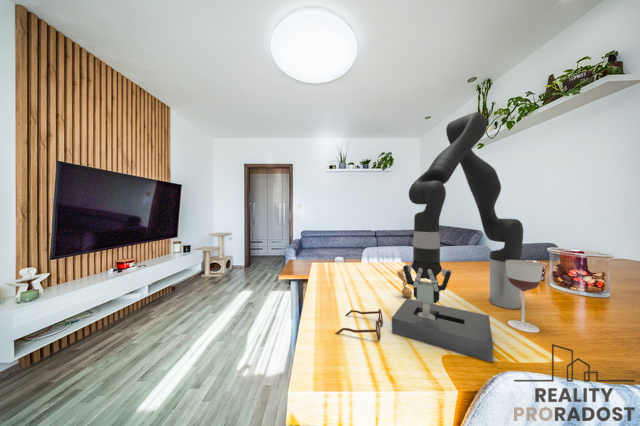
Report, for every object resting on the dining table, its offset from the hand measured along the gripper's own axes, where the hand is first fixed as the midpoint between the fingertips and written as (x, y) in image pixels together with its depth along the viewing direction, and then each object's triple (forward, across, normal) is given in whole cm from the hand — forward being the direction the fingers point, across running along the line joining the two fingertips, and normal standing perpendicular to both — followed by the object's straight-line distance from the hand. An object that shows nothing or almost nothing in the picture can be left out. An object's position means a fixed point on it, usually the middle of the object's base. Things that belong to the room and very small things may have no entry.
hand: (426, 300), depth 70 cm
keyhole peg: (+6, 0, 0) cm, 6 cm away
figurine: (+9, +12, -22) cm, 26 cm away
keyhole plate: (+9, -4, 0) cm, 9 cm away
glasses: (+9, +17, +11) cm, 22 cm away
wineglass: (+9, -25, -18) cm, 32 cm away
